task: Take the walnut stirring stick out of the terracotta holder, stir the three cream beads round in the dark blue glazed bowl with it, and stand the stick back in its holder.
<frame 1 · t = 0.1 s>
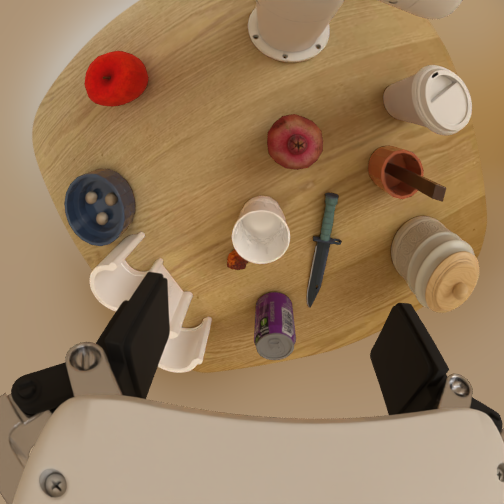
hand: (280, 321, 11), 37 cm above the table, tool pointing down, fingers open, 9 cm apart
apple: (135, 82, 38), on the table
meatball: (238, 254, 51), on the table
beverage can: (273, 304, 56), on the table
bowl: (105, 202, 47), on the table
fruit: (292, 140, 42), on the table
knife: (322, 255, 50), on the table
stick: (389, 168, 42), resting on holder
white cup: (261, 214, 48), on the table
coffee cup: (399, 101, 37), on the table
bead c: (91, 197, 45), point 2 cm above the table, touching bowl
bracket: (162, 287, 55), on the table
bead a: (102, 218, 47), point 2 cm above the table, touching bowl
bead b: (111, 199, 45), point 2 cm above the table, touching bowl
jar: (417, 245, 49), on the table
holder: (388, 167, 43), on the table
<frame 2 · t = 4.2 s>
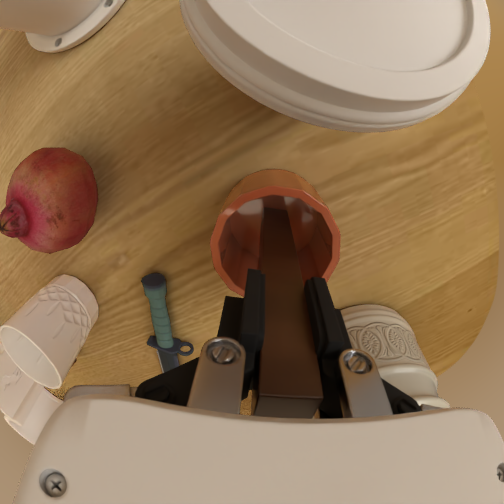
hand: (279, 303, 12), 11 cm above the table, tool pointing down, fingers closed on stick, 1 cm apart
fruit: (81, 185, 21), on the table
knife: (176, 359, 30), on the table
stick: (273, 219, 21), point 1 cm above the table, touching gripper, holder
white cup: (75, 298, 27), on the table
coffee cup: (297, 63, 17), on the table
bracket: (26, 358, 34), on the table
jar: (353, 347, 28), on the table
holder: (273, 217, 22), on the table
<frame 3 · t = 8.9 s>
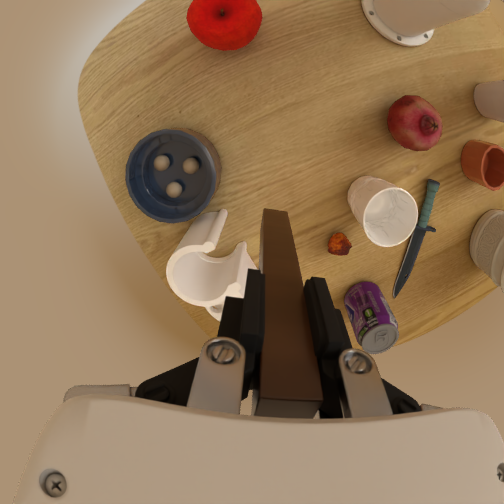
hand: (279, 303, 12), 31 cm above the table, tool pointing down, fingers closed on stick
apple: (232, 33, 31), on the table
meatball: (336, 238, 45), on the table
beverage can: (361, 295, 49), on the table
bowl: (178, 170, 41), on the table
fruit: (401, 122, 35), on the table
knife: (415, 243, 44), on the table
stick: (273, 220, 21), point 21 cm above the table, touching gripper
white cup: (366, 195, 41), on the table
coffee cup: (484, 100, 31), on the table
bead c: (161, 162, 39), point 2 cm above the table, touching bowl
bracket: (239, 276, 49), on the table
bead a: (174, 189, 40), point 2 cm above the table, touching bowl
bead b: (190, 165, 39), point 2 cm above the table, touching bowl
jar: (488, 237, 42), on the table
holder: (475, 160, 36), on the table
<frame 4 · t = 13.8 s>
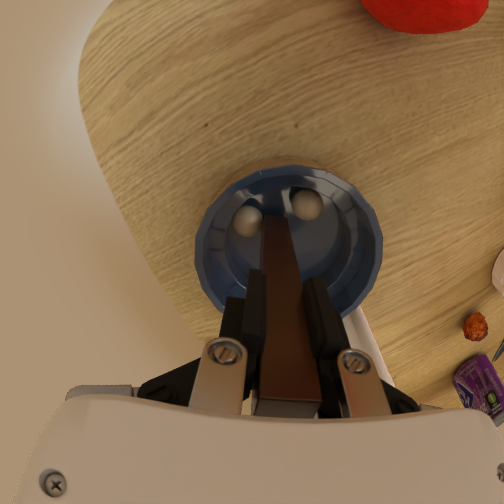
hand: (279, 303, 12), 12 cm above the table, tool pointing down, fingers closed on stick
apple: (381, 5, 14), on the table
meatball: (468, 316, 27), on the table
beverage can: (467, 366, 32), on the table
bowl: (286, 235, 24), on the table
stick: (274, 226, 22), point 2 cm above the table, touching bead c, gripper
bead c: (247, 221, 22), point 2 cm above the table, tilted 48°, touching bowl, stick
bracket: (349, 372, 31), on the table
bead b: (307, 204, 21), point 2 cm above the table, tilted 72°, touching bowl
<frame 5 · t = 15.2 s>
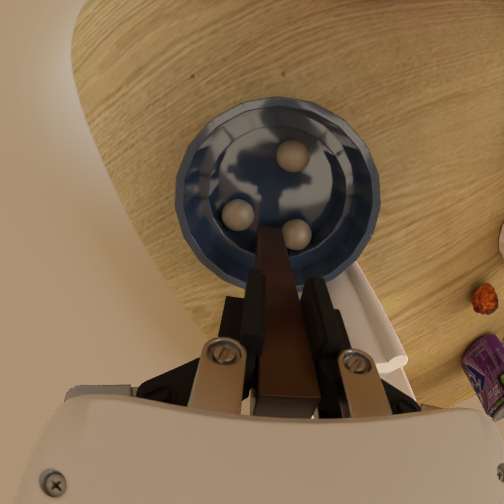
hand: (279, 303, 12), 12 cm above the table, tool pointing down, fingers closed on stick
meatball: (476, 289, 26), on the table
beverage can: (476, 348, 30), on the table
bowl: (276, 186, 22), on the table
stick: (268, 237, 22), point 2 cm above the table, touching bead a, gripper
bead c: (237, 215, 21), point 2 cm above the table, tilted 52°, touching bowl
bracket: (351, 350, 30), on the table
bead a: (296, 234, 22), point 2 cm above the table, tilted 69°, touching bowl, stick
bead b: (293, 155, 19), point 2 cm above the table, tilted 56°, touching bowl
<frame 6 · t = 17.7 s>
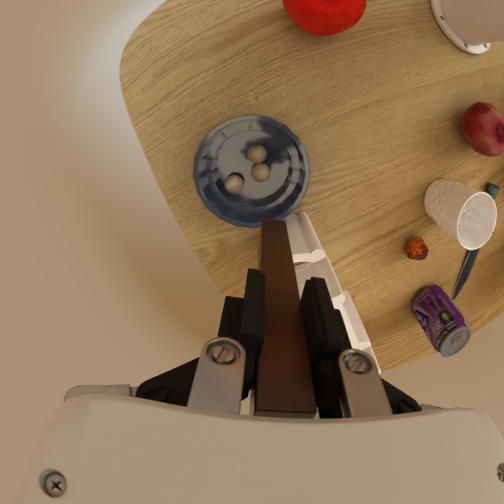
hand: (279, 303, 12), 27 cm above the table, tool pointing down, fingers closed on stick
apple: (312, 19, 26), on the table
meatball: (411, 242, 39), on the table
beverage can: (425, 299, 44), on the table
bowl: (252, 166, 36), on the table
fruit: (468, 126, 31), on the table
knife: (474, 245, 39), on the table
stick: (272, 230, 22), point 17 cm above the table, touching gripper
white cup: (439, 198, 36), on the table
bead c: (234, 184, 35), point 2 cm above the table, tilted 83°, touching bowl
bracket: (312, 286, 43), on the table
bead a: (260, 172, 34), point 2 cm above the table, tilted 7°, touching bowl
bead b: (256, 154, 33), point 2 cm above the table, tilted 46°, touching bowl
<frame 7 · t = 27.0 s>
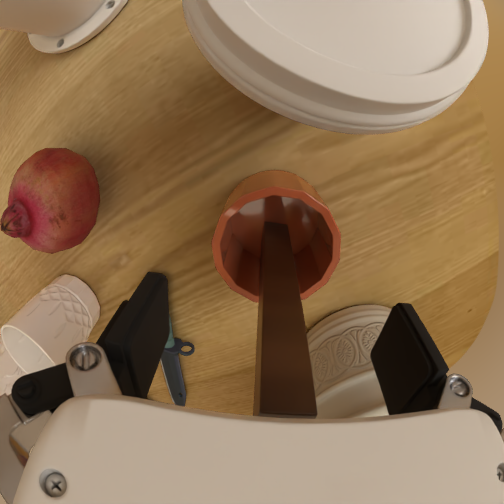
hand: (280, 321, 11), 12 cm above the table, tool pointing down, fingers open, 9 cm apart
fruit: (83, 185, 22), on the table
knife: (177, 359, 30), on the table
stick: (274, 233, 22), resting on holder
white cup: (77, 298, 27), on the table
coffee cup: (297, 65, 17), on the table
bracket: (27, 358, 35), on the table
jar: (353, 347, 28), on the table
holder: (274, 218, 22), on the table
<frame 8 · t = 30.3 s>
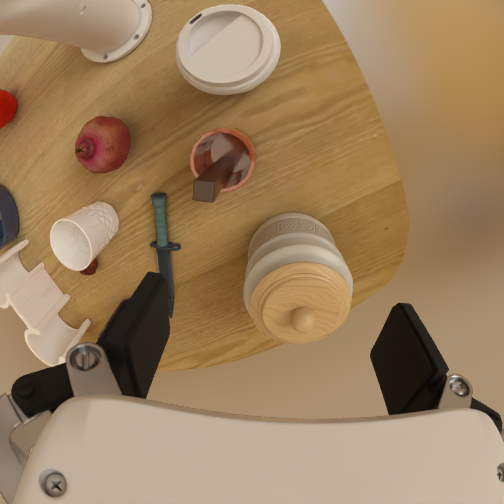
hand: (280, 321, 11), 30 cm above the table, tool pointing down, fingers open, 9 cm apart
apple: (11, 108, 33), on the table
meatball: (93, 259, 46), on the table
bowl: (2, 213, 42), on the table
fruit: (118, 141, 37), on the table
knife: (168, 262, 45), on the table
stick: (227, 163, 37), resting on holder
white cup: (103, 219, 42), on the table
coffee cup: (239, 71, 32), on the table
bracket: (49, 288, 50), on the table
jar: (291, 250, 43), on the table
holder: (228, 154, 37), on the table
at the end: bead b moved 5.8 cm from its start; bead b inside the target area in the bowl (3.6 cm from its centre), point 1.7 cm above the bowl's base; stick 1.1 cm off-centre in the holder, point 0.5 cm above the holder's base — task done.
